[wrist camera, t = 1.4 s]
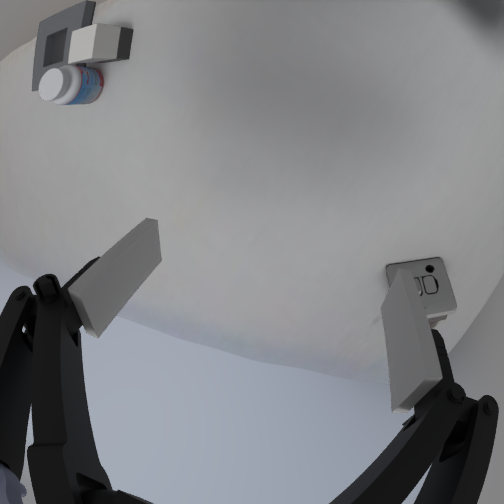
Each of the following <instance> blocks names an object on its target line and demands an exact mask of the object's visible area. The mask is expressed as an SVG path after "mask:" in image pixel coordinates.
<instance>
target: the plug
mask: <svg viewBox="0 0 504 504" xmlns="http://www.w3.org/2000/svg"><path fill="white" fill-rule="evenodd" d="M132 35H133V29H128V28H123V27H118V26H112V25H105V24H98V23H97V24H93V25H90V26H87V27H84V28H81V29H78V30H75V31H72V36H71V43H70V50H69V59H68V64H73V63H106V62H113V61H120V60H127V59H129V56H130V49H131V42H132Z"/></svg>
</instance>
